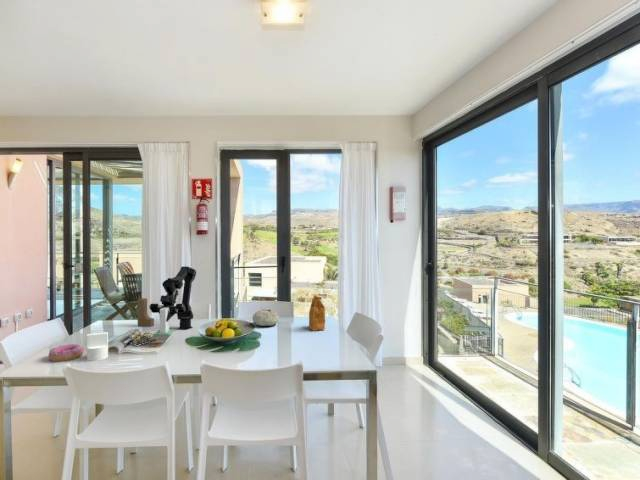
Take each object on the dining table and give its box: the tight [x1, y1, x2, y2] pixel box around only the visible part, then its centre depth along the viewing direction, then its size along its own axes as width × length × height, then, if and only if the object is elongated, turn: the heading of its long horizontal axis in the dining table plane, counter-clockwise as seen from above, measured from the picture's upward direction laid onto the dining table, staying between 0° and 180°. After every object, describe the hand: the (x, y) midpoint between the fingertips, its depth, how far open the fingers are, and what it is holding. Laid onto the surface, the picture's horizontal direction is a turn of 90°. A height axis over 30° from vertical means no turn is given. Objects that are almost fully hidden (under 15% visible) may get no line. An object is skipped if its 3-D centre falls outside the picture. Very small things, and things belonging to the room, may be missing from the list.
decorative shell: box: [252, 308, 280, 327], centre depth 243 cm, size 18×18×10 cm
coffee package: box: [308, 294, 326, 332], centre depth 234 cm, size 10×12×22 cm
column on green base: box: [153, 307, 175, 336], centre depth 199 cm, size 8×8×14 cm
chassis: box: [129, 331, 157, 345], centre depth 204 cm, size 12×12×4 cm
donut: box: [48, 343, 84, 362], centre depth 178 cm, size 14×14×5 cm
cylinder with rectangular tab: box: [86, 331, 109, 362], centre depth 178 cm, size 9×9×12 cm
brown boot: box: [137, 297, 155, 327], centre depth 239 cm, size 9×4×18 cm, turn 92°
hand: (163, 321), depth 198 cm, fingers closed on column on green base, 3 cm apart
